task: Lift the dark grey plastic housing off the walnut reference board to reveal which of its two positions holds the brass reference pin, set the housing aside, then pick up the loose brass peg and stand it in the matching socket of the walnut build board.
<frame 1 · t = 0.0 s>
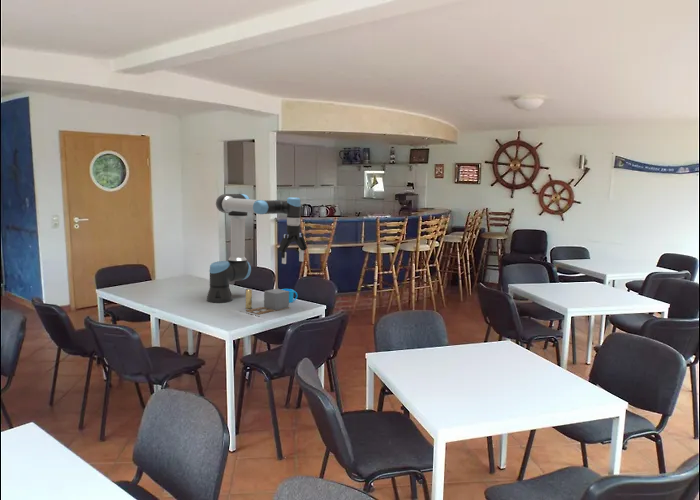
hand: (292, 262, 296), 28 cm above the table, fingers open, 13 cm apart
peg: (248, 310, 297), on the table
build board: (259, 313, 292), on the table
mug: (289, 303, 319), on the table
housing: (276, 307, 301), point 1 cm above the table, touching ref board
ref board: (276, 309, 302), on the table
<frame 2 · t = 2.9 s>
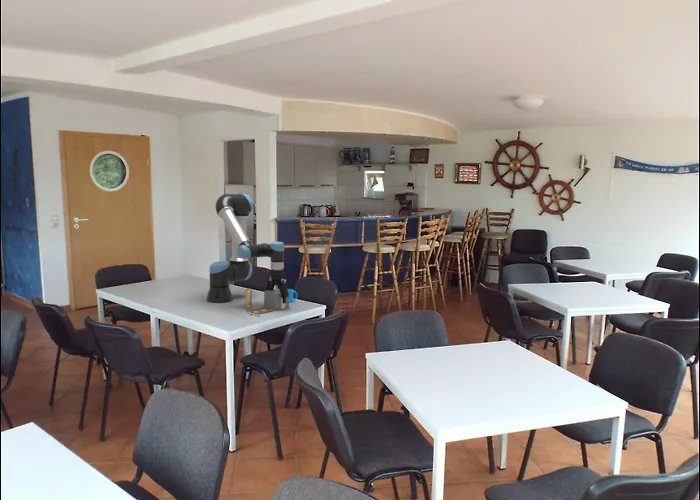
hand: (276, 307, 301), 1 cm above the table, fingers closed on housing, 10 cm apart
housing: (276, 307, 301), point 1 cm above the table, touching gripper, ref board
everything else where it was.
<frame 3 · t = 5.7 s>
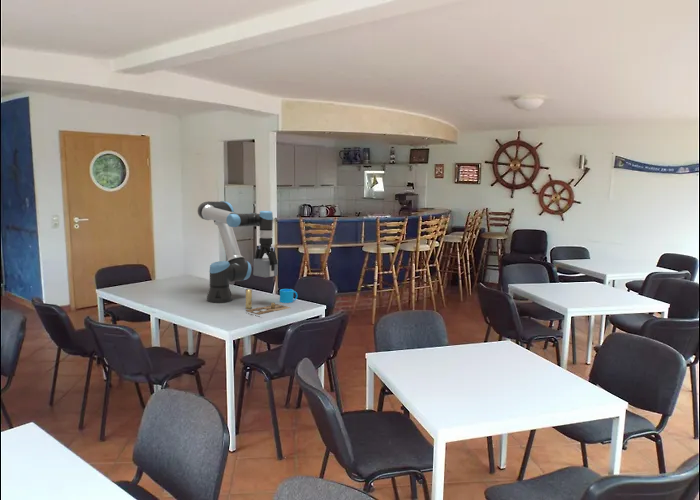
hand: (265, 274, 308), 18 cm above the table, fingers closed on housing, 10 cm apart
housing: (265, 275, 308), point 18 cm above the table, touching gripper
everything else where it was.
when the fingers open (1 cm above the table, at t = 8.7 s): housing stays where it is, on the table.
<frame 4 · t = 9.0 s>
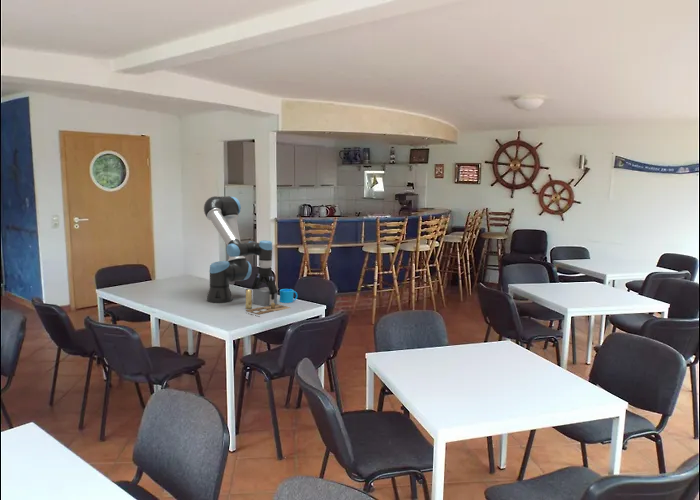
hand: (264, 302, 311), 2 cm above the table, fingers open, 12 cm apart
housing: (264, 305, 311), on the table
everything else where it was.
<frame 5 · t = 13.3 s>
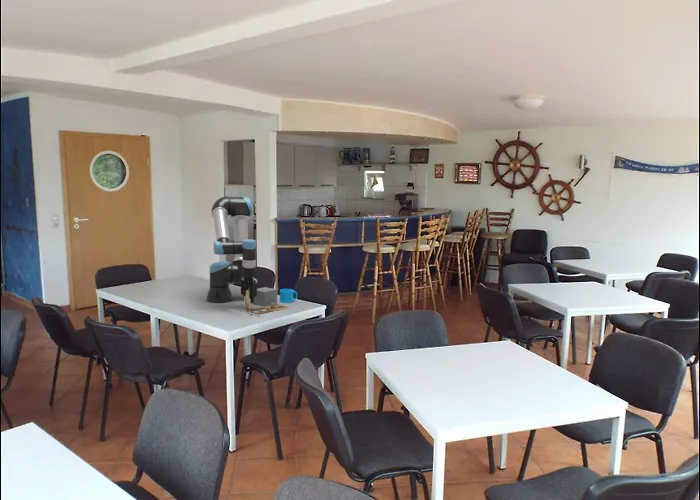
hand: (248, 307, 297), 2 cm above the table, fingers closed on peg, 3 cm apart
peg: (248, 310, 297), on the table, touching gripper
everything else where it was.
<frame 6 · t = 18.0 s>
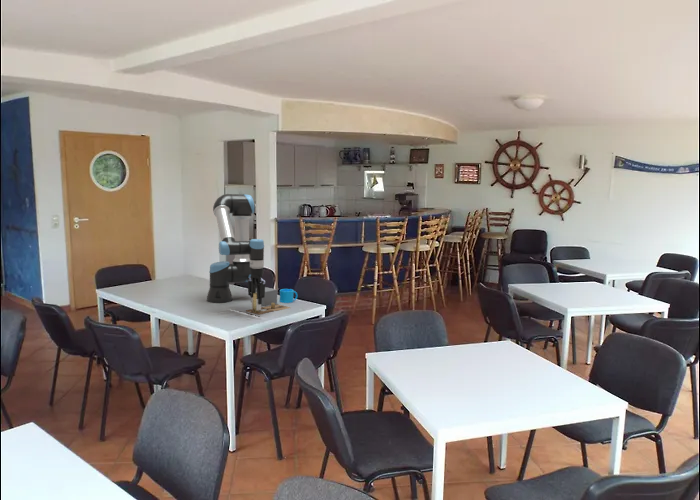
hand: (256, 309, 289), 3 cm above the table, fingers closed on peg, 3 cm apart
peg: (256, 314, 290), resting in build board, touching gripper
everything else where it was.
when the fingers open (3 cm above the table, at t = 18.3 s): peg stays where it is, resting in build board.
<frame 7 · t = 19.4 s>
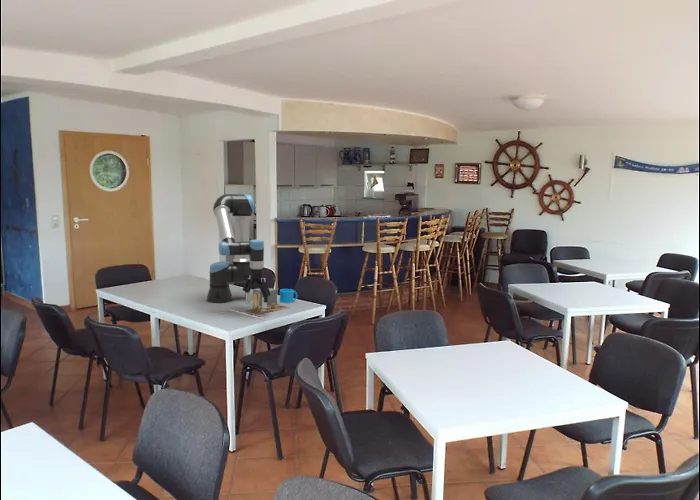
hand: (256, 306, 289), 5 cm above the table, fingers open, 13 cm apart
peg: (256, 314, 290), resting in build board
everything else where it was.
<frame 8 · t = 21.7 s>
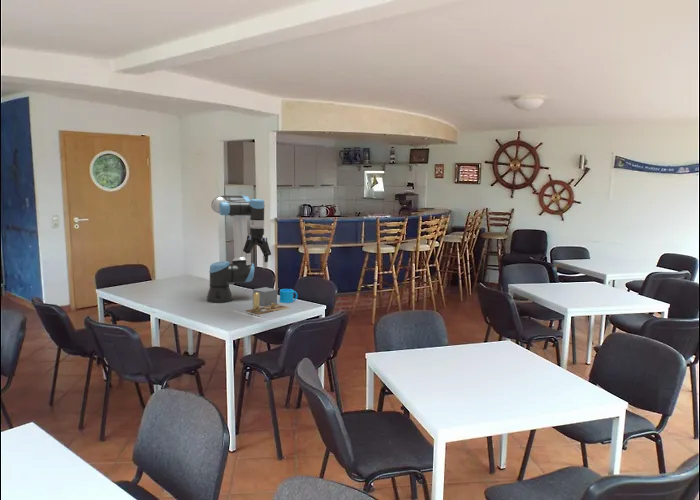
hand: (256, 266, 286), 27 cm above the table, fingers open, 13 cm apart
nothing on the table moved.
at the end: peg 0.2 cm from the target spot on the build board, point 0.0 cm above the build board's base; peg tilted 0°; housing moved 12.3 cm from its start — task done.
